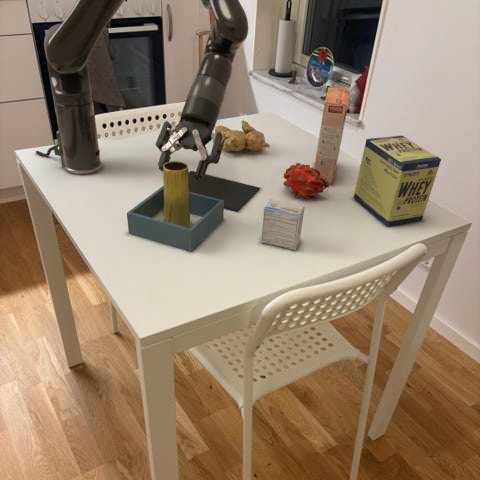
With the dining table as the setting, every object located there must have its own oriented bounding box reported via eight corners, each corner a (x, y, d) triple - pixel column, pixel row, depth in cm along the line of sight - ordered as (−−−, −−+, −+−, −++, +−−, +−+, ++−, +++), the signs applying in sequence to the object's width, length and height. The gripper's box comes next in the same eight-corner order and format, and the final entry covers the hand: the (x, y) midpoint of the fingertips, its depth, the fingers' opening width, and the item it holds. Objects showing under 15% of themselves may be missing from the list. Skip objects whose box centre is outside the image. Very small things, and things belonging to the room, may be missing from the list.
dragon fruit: (278, 193, 135) (321, 209, 133) (274, 186, 127) (319, 203, 125) (291, 162, 134) (334, 178, 132) (287, 153, 126) (333, 169, 124)
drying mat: (164, 192, 128) (164, 190, 128) (191, 172, 138) (191, 170, 138) (237, 211, 123) (237, 210, 122) (259, 189, 133) (259, 187, 132)
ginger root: (271, 156, 146) (266, 128, 141) (216, 166, 148) (210, 139, 143) (269, 138, 158) (265, 111, 153) (219, 147, 160) (213, 121, 155)
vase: (164, 219, 118) (161, 159, 109) (190, 219, 118) (190, 160, 109) (163, 233, 113) (160, 171, 104) (191, 233, 114) (190, 172, 105)
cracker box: (333, 186, 136) (348, 104, 123) (311, 182, 137) (323, 101, 124) (336, 165, 147) (350, 88, 134) (315, 162, 148) (327, 85, 134)
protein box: (387, 227, 121) (404, 164, 111) (352, 198, 131) (364, 137, 121) (423, 221, 124) (443, 159, 114) (386, 193, 135) (401, 133, 125)
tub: (128, 233, 113) (126, 212, 109) (165, 204, 124) (164, 184, 120) (191, 251, 108) (191, 231, 105) (223, 220, 119) (224, 200, 116)
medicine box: (300, 241, 114) (305, 205, 108) (295, 251, 110) (300, 215, 105) (266, 233, 115) (269, 198, 110) (260, 243, 112) (263, 207, 107)
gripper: (238, 119, 112) (214, 188, 111) (180, 107, 116) (157, 174, 115) (229, 100, 104) (203, 174, 104) (168, 88, 108) (142, 160, 108)
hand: (179, 174), depth 109 cm, fingers open, 8 cm apart
